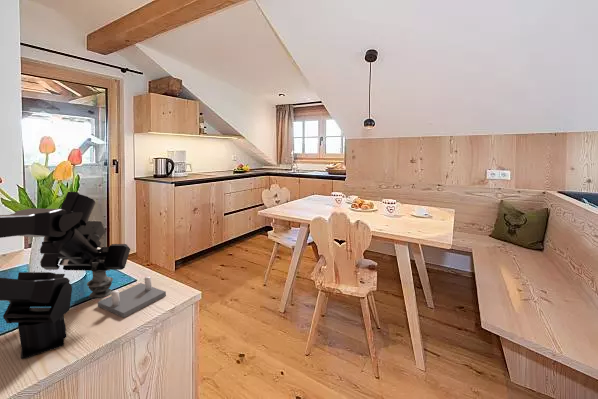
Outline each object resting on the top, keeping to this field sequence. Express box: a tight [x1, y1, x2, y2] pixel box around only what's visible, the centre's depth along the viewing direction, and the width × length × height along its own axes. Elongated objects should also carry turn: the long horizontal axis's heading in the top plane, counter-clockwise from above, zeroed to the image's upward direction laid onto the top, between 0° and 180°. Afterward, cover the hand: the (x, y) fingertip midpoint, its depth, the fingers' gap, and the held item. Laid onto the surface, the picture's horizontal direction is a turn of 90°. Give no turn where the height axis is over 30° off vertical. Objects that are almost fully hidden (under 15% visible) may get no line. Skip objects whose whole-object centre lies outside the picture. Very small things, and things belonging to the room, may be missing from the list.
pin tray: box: [97, 275, 167, 318], centre depth 78 cm, size 12×10×5 cm
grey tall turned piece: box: [86, 263, 114, 300], centre depth 80 cm, size 6×6×12 cm
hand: (101, 268), depth 81 cm, fingers closed on grey tall turned piece, 4 cm apart
